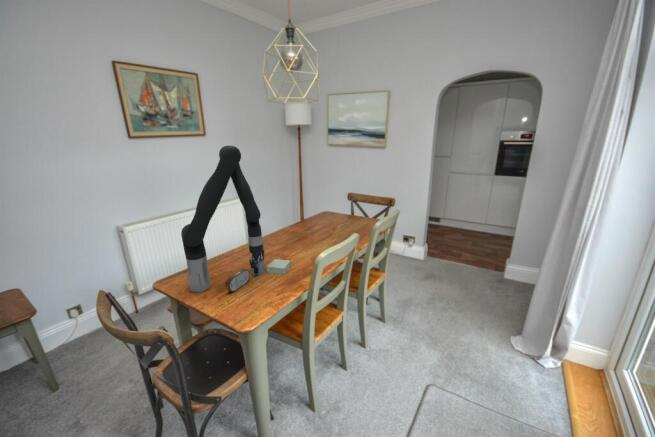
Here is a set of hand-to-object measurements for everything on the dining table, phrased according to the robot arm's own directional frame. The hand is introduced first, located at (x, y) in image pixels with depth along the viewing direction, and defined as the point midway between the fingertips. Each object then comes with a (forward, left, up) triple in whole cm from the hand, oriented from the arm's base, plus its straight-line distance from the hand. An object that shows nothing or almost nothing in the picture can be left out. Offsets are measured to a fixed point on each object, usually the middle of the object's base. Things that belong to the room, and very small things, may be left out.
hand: (258, 271), depth 158 cm
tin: (-16, +3, -1) cm, 16 cm away
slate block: (0, 0, -1) cm, 1 cm away
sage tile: (+6, -10, -1) cm, 12 cm away
